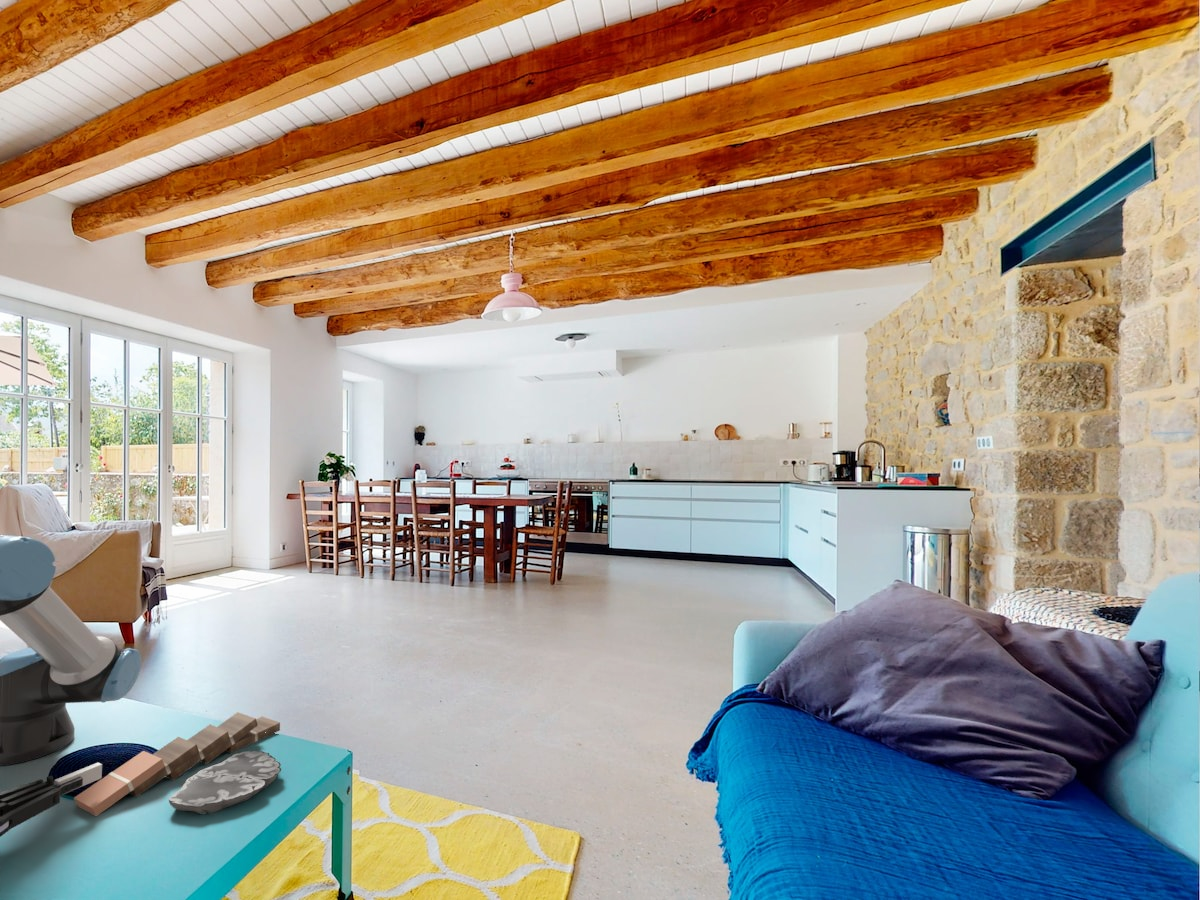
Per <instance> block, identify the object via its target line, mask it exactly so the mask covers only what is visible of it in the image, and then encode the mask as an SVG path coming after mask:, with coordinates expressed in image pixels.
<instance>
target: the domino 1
mask: <svg viewBox="0 0 1200 900" xmlns="http://www.w3.org/2000/svg"><path fill="white" fill-rule="evenodd" d="M164 767H165V765H164V762H163V760H162V759H161V758H159V757H157V756H154V755H152V753H150V752H148V751H145V750H142V751H141V752H139V753H137V754H136V755H135V756H134V757H131V759H129V760H127V761H126V762H125V763H123V764H122V765H120V766H119V767H117V768H115V770H113V771H111V772H109V773H108V774H107V775H105V776H104V777H102V778H101V779H99V780H97V782H94V784H92V785H90V787H88V788H86V789H85V790H83V791H82V792H81V793H79V794H77V795H75V796H74V797H73V800H74V802H75V804H76V806H77V807H78V808H81V809H82V810H84V811H86V812H88V813H89V814H91V815H92V816H94V817H98V816H99V815H100V814H102V812H104V811H105V810H107V809H108V808H110V807H111V806H112V805H115V803H116V802H118V801H119V800H121V799H122V798H124V797H125V796H126V795H128V794H130V793H129V792H131V791H133V790H134V789H135V788H136V787H137V786H139V785H140V784H142V783H143V782H144V781H146V780H147V779H149V778H150V777H151V776H153V775H154V774H155V773H157V772H158V771H160V770H161V769H162V768H164Z"/></svg>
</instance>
